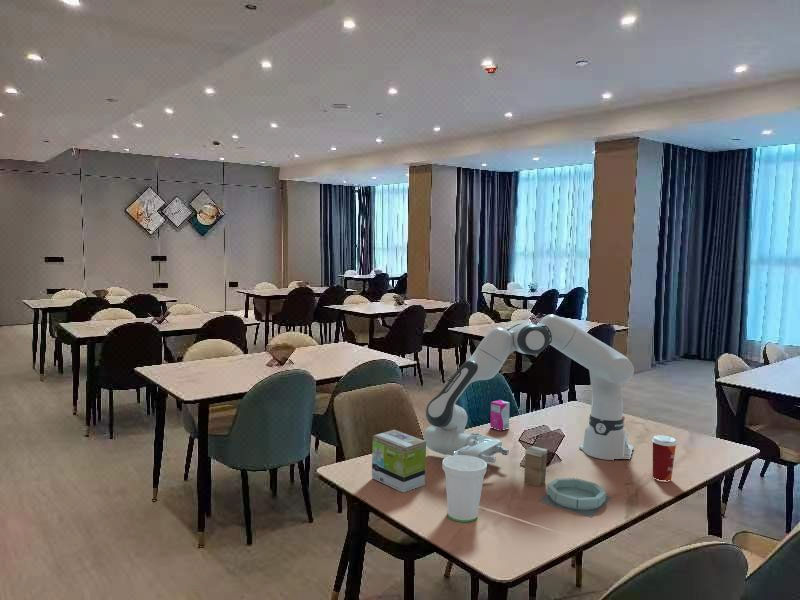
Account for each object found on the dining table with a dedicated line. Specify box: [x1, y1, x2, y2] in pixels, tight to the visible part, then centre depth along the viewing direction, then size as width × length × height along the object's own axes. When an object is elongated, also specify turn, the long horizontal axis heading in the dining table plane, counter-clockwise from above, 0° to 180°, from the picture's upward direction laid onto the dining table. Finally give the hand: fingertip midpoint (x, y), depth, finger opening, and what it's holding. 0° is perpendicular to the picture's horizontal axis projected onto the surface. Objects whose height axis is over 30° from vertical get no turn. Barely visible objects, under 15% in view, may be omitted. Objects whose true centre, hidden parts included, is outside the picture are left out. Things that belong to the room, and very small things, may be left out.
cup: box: [441, 455, 488, 523], centre depth 166 cm, size 12×12×15 cm
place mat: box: [538, 493, 613, 518], centre depth 179 cm, size 18×16×1 cm
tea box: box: [371, 429, 427, 494], centre depth 188 cm, size 15×10×15 cm
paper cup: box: [651, 434, 678, 481], centre depth 198 cm, size 8×8×14 cm
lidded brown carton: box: [523, 445, 548, 488], centre depth 191 cm, size 5×5×11 cm
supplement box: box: [489, 399, 511, 430], centre depth 248 cm, size 6×6×12 cm
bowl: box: [546, 477, 607, 510], centre depth 179 cm, size 16×16×3 cm
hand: (501, 456), depth 198 cm, fingers open, 8 cm apart
